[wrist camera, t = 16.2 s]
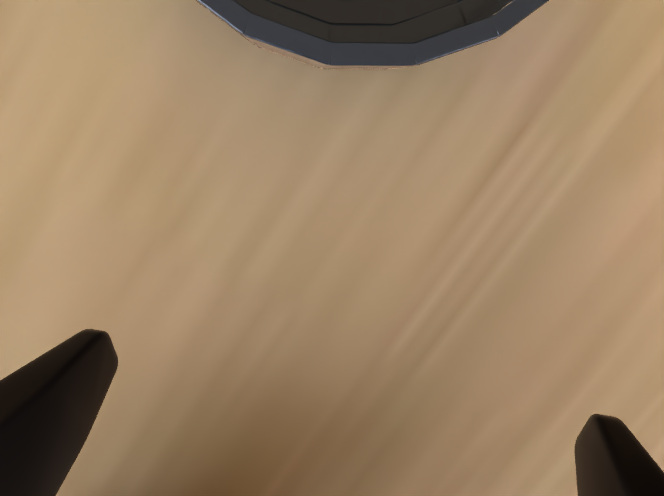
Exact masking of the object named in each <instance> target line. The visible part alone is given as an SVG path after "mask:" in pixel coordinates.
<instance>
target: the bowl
mask: <svg viewBox="0 0 664 496" xmlns="http://www.w3.org/2000/svg"><path fill="white" fill-rule="evenodd" d="M196 1H197V2H198V3H199V4H201V5H202V6H203V7H205V8H206V9H207V10H209V11H210V12H211V13H213V14H214V15H215V16H217V17H218V18H219V19H221V20H222V21H223V22H225V23H226V24H227V25H229V26H230V27H231V28H232V29H234V30H235V31H236V32H238V33H239V34H240V35H242V36H243V37H244V38H246V39H247V40H248V41H250V42H251V43H252V44H254V45H257V46H258V47H259V48H262V49H265V50H268V51H271V52H274V53H277V54H280V55H282V56H285V57H288V58H291V59H294V60H297V61H300V62H302V63H305V64H308V65H311V66H314V67H317V68H323V69H392V68H402V67H410V66H416V65H420V64H423V63H426V62H429V61H432V60H434V59H437V58H440V57H443V56H446V55H449V54H452V53H455V52H458V51H461V50H464V49H467V48H470V47H473V46H475V45H478V44H481V43H484V42H487V41H490V40H493V39H496V38H497V37H500V36H501V35H503V34H504V33H506V32H507V31H508V30H510V29H511V28H512V27H514V26H515V25H516V24H518V23H519V22H520V21H522V20H523V19H524V18H526V17H527V16H529V15H530V14H531V13H533V12H534V11H535V10H537V9H538V8H539V7H541V6H542V5H543V4H545V3H546V2H547V1H549V0H196Z"/></svg>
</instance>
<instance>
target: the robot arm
mask: <svg viewBox="0 0 664 496" xmlns="http://www.w3.org/2000/svg"><path fill="white" fill-rule="evenodd" d="M117 366H118V357H117V354H116V352H115V349H114V346H113V344H112V341H111V338H110V336H109V334H108V333H107V332H105V331H100V330H94V329H85V330H83V331H81V332H79V333H77V334H76V335H74V336H72V337H71V338H69V339H67V340H66V341H64V342H63V343H61V344H59V345H58V346H56V347H54V348H53V349H51V350H49V351H48V352H46V353H45V354H43V355H41V356H40V357H38V358H36V359H35V360H33V361H31V362H30V363H28V364H27V365H25V366H23V367H22V368H20V369H18V370H17V371H15V372H13V373H12V374H10V375H9V376H7V377H5V378H4V379H2V380H0V496H56V494H57V492H58V490H59V488H60V487H61V485H62V483H63V481H64V479H65V478H66V476H67V474H68V472H69V470H70V469H71V467H72V465H73V463H74V462H75V460H76V458H77V456H78V454H79V453H80V451H81V449H82V447H83V445H84V443H85V441H86V439H87V437H88V435H89V433H90V430H91V428H92V426H93V424H94V421H95V419H96V417H97V414H98V412H99V410H100V407H101V405H102V403H103V400H104V398H105V396H106V393H107V391H108V389H109V386H110V384H111V382H112V380H113V377H114V375H115V373H116V370H117ZM575 463H576V476H577V490H578V496H664V472H663V471H662V470H661V468H660V467H659V466H658V465H657V463H656V462H655V461H654V460H653V458H652V457H651V456H650V455H649V454H648V452H647V451H646V450H645V449H644V447H643V446H642V445H641V444H640V442H639V441H638V440H637V439H636V438H635V436H634V435H633V434H632V433H631V431H630V430H629V429H628V428H627V426H626V425H625V424H624V423H623V422H622V421H621V420H620V419H618V418H616V417H612V416H606V415H600V414H594V415H592V416H590V418H589V419H588V421H587V422H586V424H585V426H584V427H583V429H582V431H581V432H580V434H579V436H578V437H577V440H576V443H575Z"/></svg>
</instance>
